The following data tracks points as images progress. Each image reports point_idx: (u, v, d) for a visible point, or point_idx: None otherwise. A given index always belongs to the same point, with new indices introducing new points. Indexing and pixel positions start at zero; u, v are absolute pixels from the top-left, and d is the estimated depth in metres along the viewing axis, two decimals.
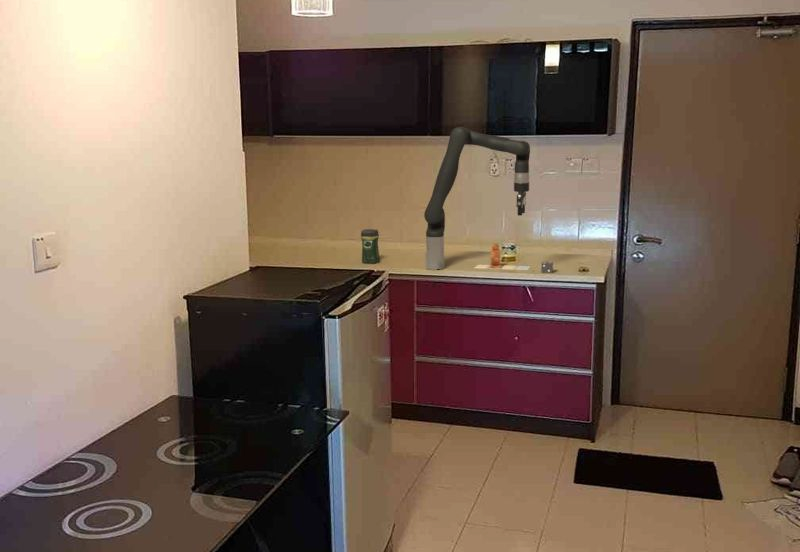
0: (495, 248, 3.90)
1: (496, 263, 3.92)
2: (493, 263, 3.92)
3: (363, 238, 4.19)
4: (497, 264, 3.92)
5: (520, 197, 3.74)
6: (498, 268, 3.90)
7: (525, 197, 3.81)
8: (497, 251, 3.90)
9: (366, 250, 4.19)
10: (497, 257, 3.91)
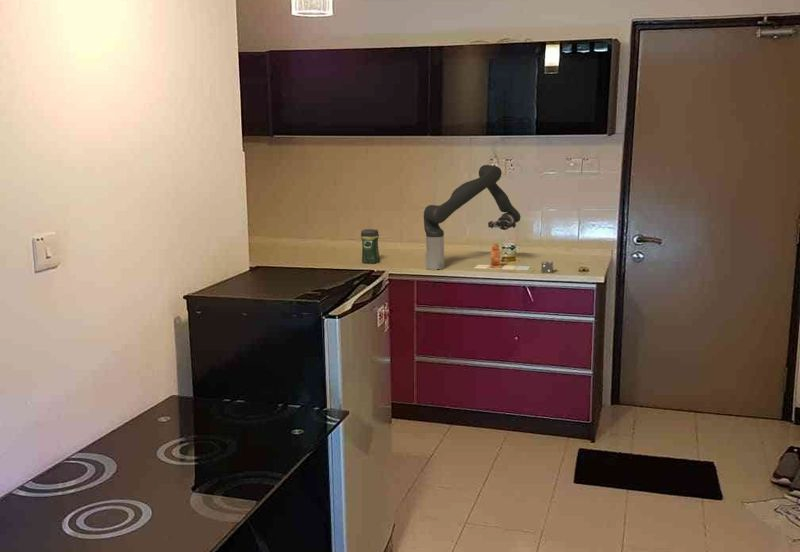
0: (495, 248, 3.90)
1: (496, 263, 3.92)
2: (493, 263, 3.92)
3: (363, 238, 4.19)
4: (497, 264, 3.92)
5: (515, 225, 4.07)
6: (498, 268, 3.90)
7: (500, 227, 4.09)
8: (497, 251, 3.90)
9: (366, 250, 4.19)
10: (497, 257, 3.91)
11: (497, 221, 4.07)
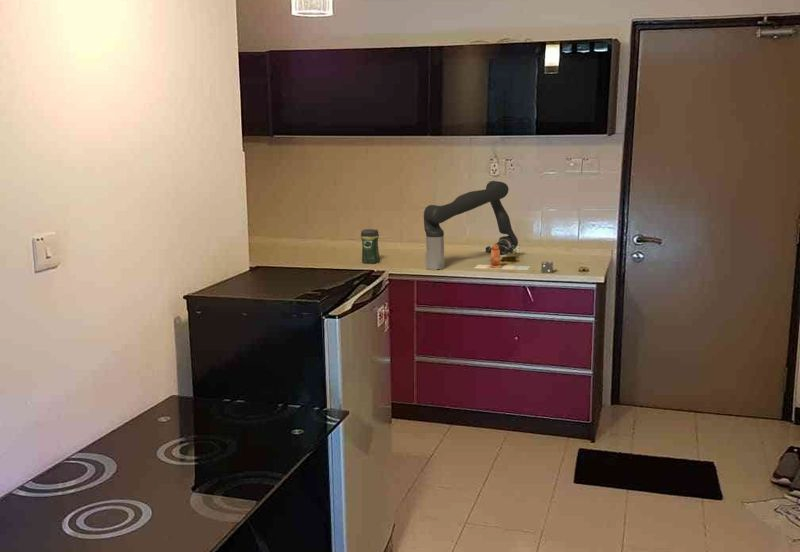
0: (495, 248, 3.90)
1: (496, 263, 3.92)
2: (493, 263, 3.92)
3: (363, 238, 4.19)
4: (497, 264, 3.92)
5: None
6: (498, 268, 3.90)
7: None
8: (497, 251, 3.90)
9: (366, 250, 4.19)
10: (497, 257, 3.91)
11: None
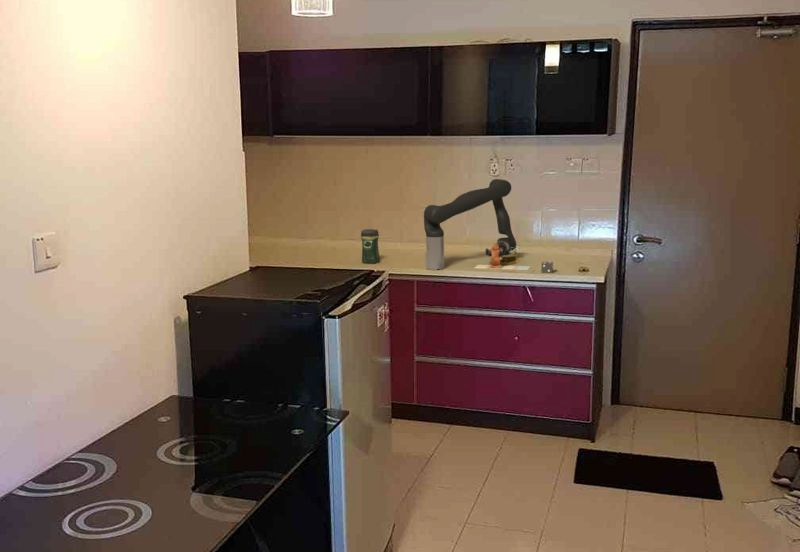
0: (495, 248, 3.90)
1: (496, 263, 3.92)
2: (493, 263, 3.92)
3: (363, 238, 4.19)
4: (497, 264, 3.92)
5: (510, 253, 3.96)
6: (498, 268, 3.90)
7: None
8: (497, 251, 3.90)
9: (366, 250, 4.19)
10: (497, 257, 3.91)
11: None
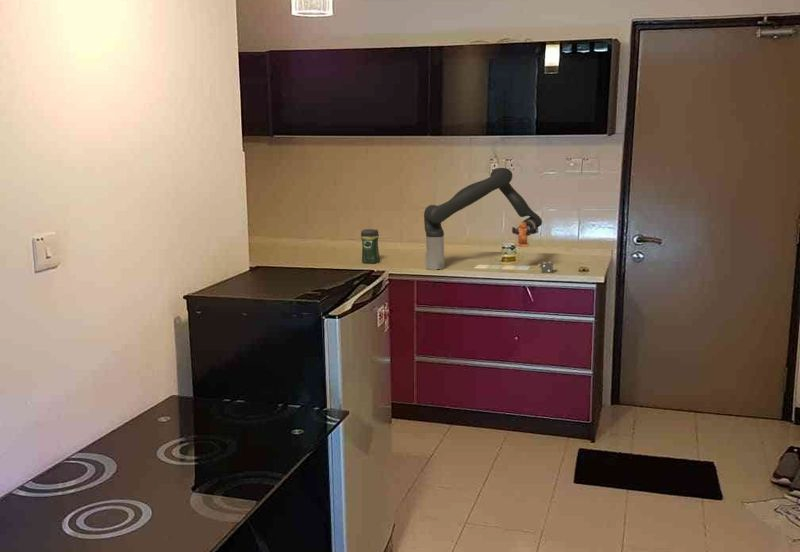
0: (522, 226, 3.84)
1: (523, 241, 3.85)
2: (520, 242, 3.85)
3: (363, 238, 4.19)
4: (524, 243, 3.85)
5: (537, 231, 3.90)
6: (498, 268, 3.90)
7: None
8: (525, 229, 3.84)
9: (366, 250, 4.19)
10: (525, 236, 3.85)
11: None
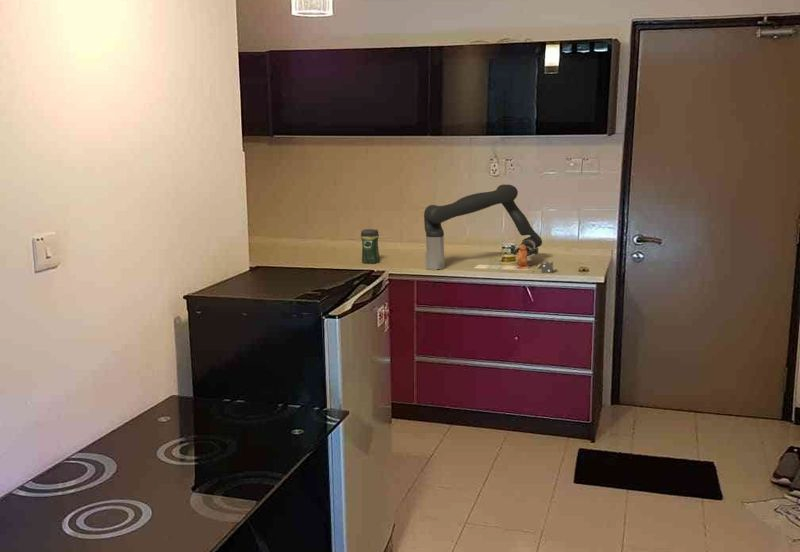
0: (522, 249, 3.86)
1: (523, 264, 3.87)
2: (520, 264, 3.88)
3: (363, 238, 4.19)
4: (524, 265, 3.88)
5: None
6: (498, 268, 3.90)
7: None
8: (524, 252, 3.86)
9: (366, 250, 4.19)
10: (525, 258, 3.87)
11: None
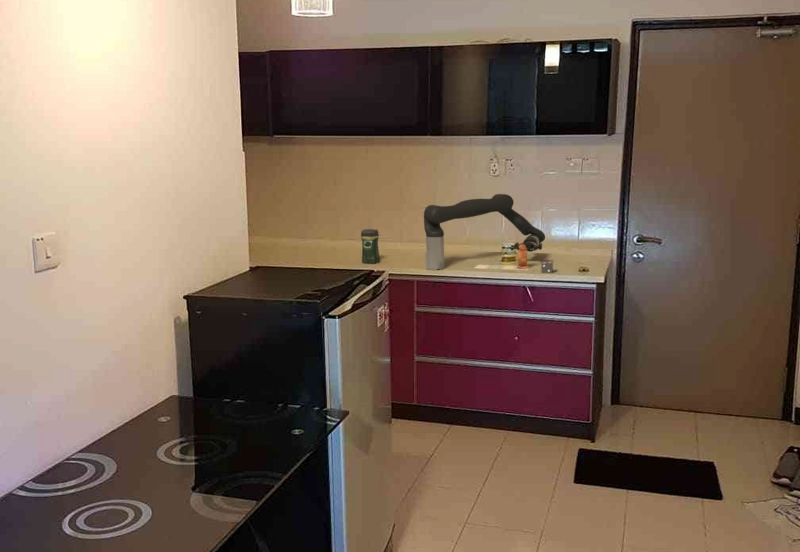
0: (522, 248, 3.86)
1: (523, 264, 3.87)
2: (520, 264, 3.88)
3: (363, 238, 4.19)
4: (524, 265, 3.88)
5: None
6: (498, 268, 3.90)
7: (527, 249, 4.07)
8: (524, 252, 3.86)
9: (366, 250, 4.19)
10: (525, 258, 3.87)
11: (523, 243, 4.05)
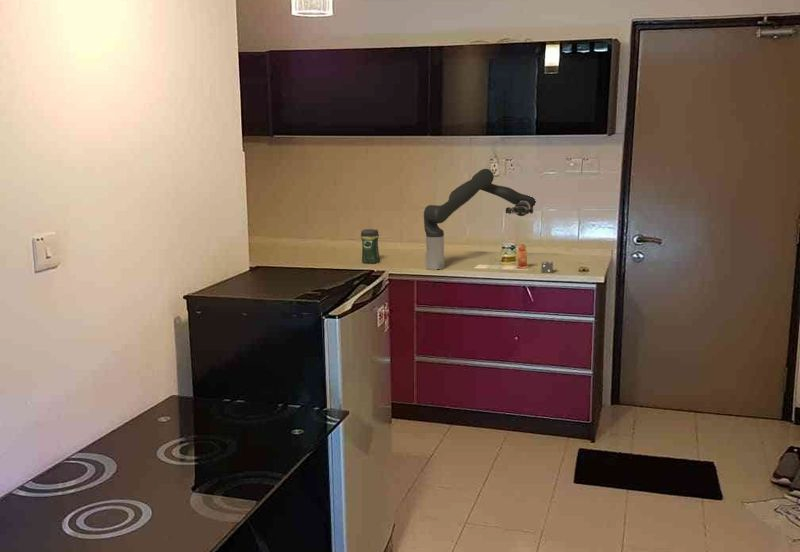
0: (521, 249, 3.86)
1: (523, 264, 3.87)
2: (520, 264, 3.88)
3: (363, 238, 4.19)
4: (524, 265, 3.87)
5: None
6: (498, 268, 3.90)
7: (518, 213, 4.09)
8: (524, 252, 3.86)
9: (366, 250, 4.19)
10: (524, 258, 3.87)
11: (514, 207, 4.07)
